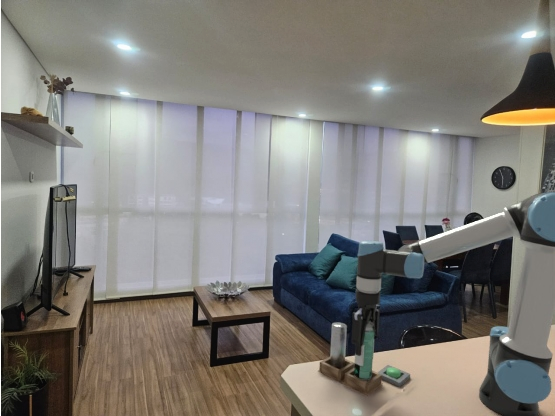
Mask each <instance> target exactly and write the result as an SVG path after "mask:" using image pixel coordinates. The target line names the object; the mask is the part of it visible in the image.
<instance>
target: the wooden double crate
mask: <svg viewBox="0 0 555 416" xmlns="http://www.w3.org/2000/svg"><path fill="white" fill-rule="evenodd" d="M354 367H355V361H354V362H353V361H350V360H349V359H347V358H345V367H343V368H342V369H338V368H335V367H333V366H331V365H330V356H328V357H326V358H324V359H323V360H321V361H319V370H317V372H319V373H321V374H322V375H325V376H326V377H329V378H330V379H332V380H335V381H337V382H338V383H341V384H342V385H345V386H347V387H349V388H350V389H353V390H355V391H357V392H358V393H361V394H363V395H364V396H369V395H370V394H372V393H373V392H374V391H376V389H378V388H380V387H381V386H382V385H383V384H384V383H383V382H382V381H383V380H382V375H381V374H379V373H377V372H378V371H377V372H376V371H374V370H372V378H371V380H370V381H367V382H366V381H363V380H361V379H359V378H357V377H355V376H354Z"/></svg>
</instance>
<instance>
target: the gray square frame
mask: <svg viewBox="0 0 555 416" xmlns="http://www.w3.org/2000/svg"><path fill="white" fill-rule="evenodd" d="M390 367H392V368H396V367H394V366H392V365H390V364H387V365H386V366H384V367H383V368H382V369H380V370H379V371H377V373H379V374H381V375H382V381H385V382H387V383H389V384H392V385H394V386H396V387H398V388H400V387H402V385H404V384H405V383H406V382H407V381H409V379H410V378H411V373H410V372H407V371H403V370H401V369H399V368H396V369H398V370H400V372H401V375H400V378H399V379H395V378H393V377H391V376H388V375H386V374H387V368H390Z"/></svg>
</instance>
